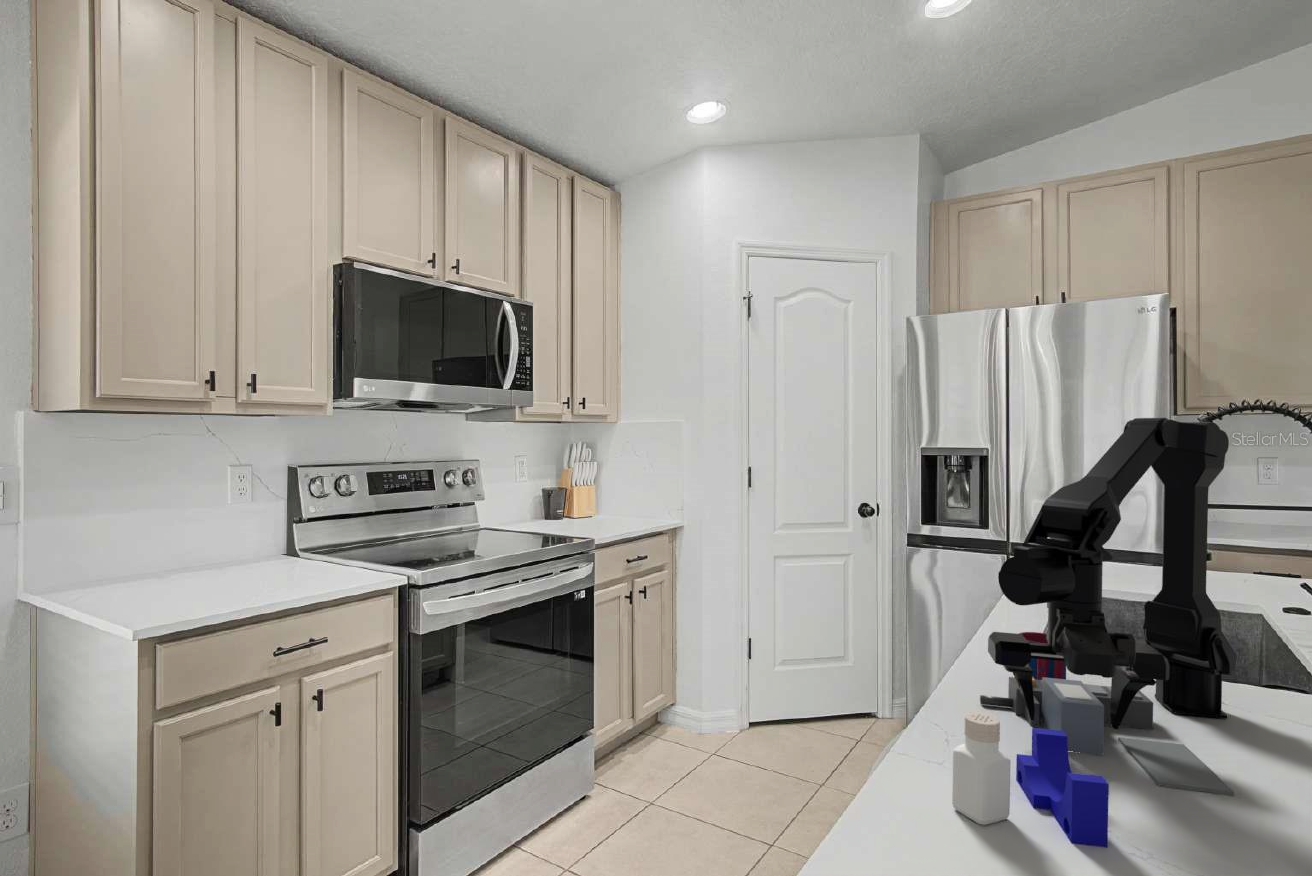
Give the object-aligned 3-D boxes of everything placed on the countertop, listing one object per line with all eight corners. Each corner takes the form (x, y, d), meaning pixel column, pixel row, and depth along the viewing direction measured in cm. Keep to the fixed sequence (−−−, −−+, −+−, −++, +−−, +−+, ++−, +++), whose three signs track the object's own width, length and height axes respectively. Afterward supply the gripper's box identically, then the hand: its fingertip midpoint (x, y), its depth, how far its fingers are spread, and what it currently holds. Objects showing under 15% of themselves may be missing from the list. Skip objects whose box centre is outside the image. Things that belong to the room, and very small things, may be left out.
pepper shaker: (982, 828, 68) (983, 728, 68) (949, 808, 71) (951, 713, 71) (1012, 820, 69) (1014, 722, 69) (978, 800, 73) (980, 708, 73)
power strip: (1137, 715, 96) (1138, 683, 96) (1164, 740, 88) (1164, 706, 88) (977, 698, 102) (978, 668, 102) (988, 721, 94) (989, 688, 94)
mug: (1067, 680, 110) (1068, 636, 110) (1061, 699, 102) (1062, 652, 102) (1019, 671, 114) (1020, 629, 114) (1009, 689, 106) (1010, 643, 106)
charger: (1079, 726, 93) (1080, 679, 93) (1103, 756, 84) (1104, 704, 84) (1041, 722, 94) (1042, 675, 94) (1060, 751, 85) (1061, 700, 85)
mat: (1183, 747, 86) (1183, 744, 86) (1234, 795, 75) (1234, 791, 75) (1118, 739, 88) (1118, 736, 88) (1157, 785, 77) (1157, 781, 77)
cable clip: (1016, 781, 78) (1017, 726, 78) (1061, 786, 77) (1062, 730, 77) (1053, 842, 66) (1054, 778, 66) (1107, 849, 65) (1108, 783, 65)
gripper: (1005, 606, 83) (1003, 740, 83) (1192, 620, 78) (1189, 762, 78) (988, 587, 94) (986, 705, 94) (1151, 598, 89) (1149, 723, 89)
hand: (1072, 723), depth 88 cm, fingers open, 9 cm apart
